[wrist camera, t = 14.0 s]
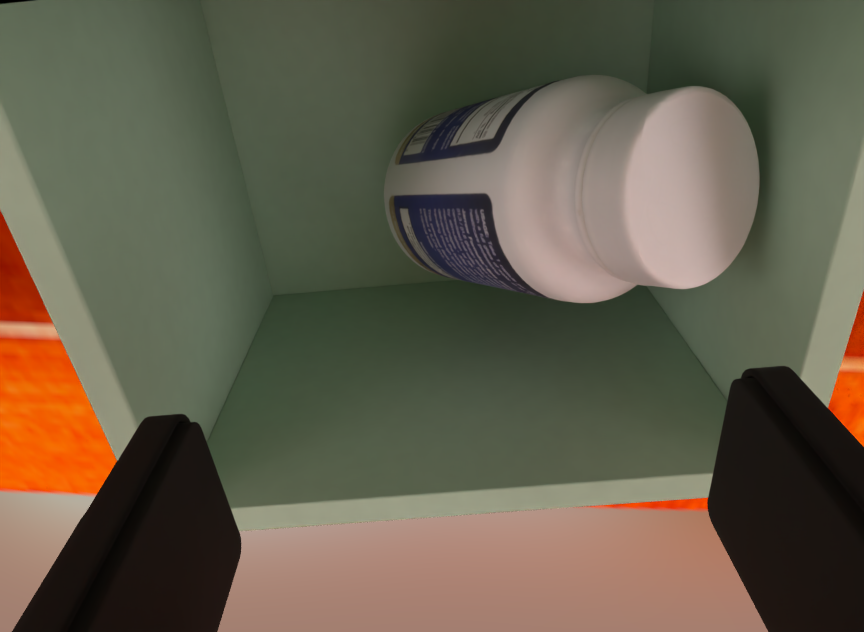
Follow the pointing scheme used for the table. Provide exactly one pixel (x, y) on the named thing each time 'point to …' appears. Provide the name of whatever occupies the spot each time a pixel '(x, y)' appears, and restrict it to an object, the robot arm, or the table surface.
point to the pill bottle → (577, 189)
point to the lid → (13, 1)
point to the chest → (387, 263)
